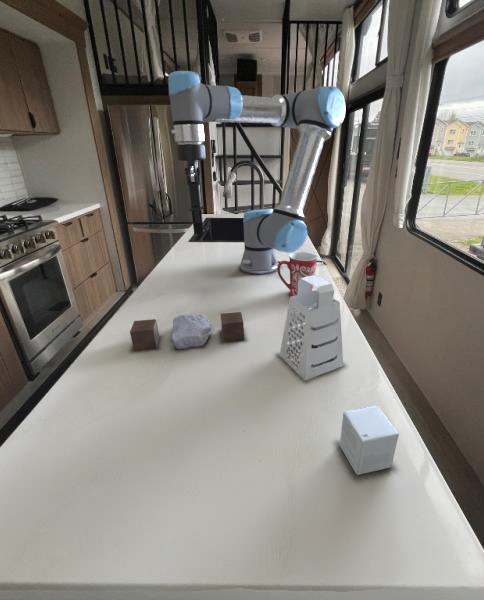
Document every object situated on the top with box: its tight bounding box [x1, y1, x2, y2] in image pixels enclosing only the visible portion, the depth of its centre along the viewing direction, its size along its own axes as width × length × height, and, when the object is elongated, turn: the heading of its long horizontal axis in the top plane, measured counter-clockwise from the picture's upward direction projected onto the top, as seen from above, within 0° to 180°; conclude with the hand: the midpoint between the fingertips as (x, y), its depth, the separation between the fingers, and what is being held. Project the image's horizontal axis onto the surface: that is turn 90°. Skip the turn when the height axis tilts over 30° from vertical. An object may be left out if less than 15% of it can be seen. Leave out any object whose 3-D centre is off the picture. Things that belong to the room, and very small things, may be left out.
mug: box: [276, 251, 319, 297], centre depth 105 cm, size 13×9×14 cm
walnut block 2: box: [220, 311, 245, 343], centre depth 84 cm, size 6×6×6 cm
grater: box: [279, 274, 344, 381], centre depth 71 cm, size 10×10×20 cm
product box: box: [339, 405, 400, 476], centre depth 50 cm, size 6×6×7 cm
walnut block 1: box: [129, 318, 160, 352], centre depth 82 cm, size 6×6×6 cm
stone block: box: [171, 313, 212, 350], centre depth 85 cm, size 12×5×10 cm
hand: (198, 233), depth 95 cm, fingers closed
